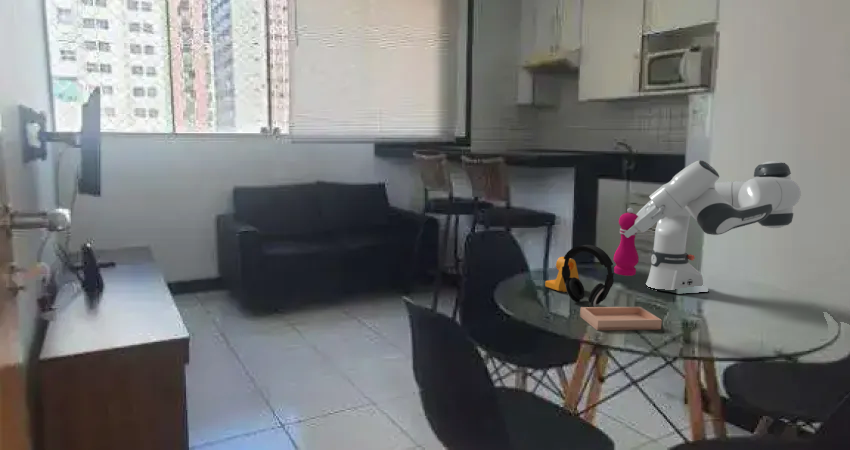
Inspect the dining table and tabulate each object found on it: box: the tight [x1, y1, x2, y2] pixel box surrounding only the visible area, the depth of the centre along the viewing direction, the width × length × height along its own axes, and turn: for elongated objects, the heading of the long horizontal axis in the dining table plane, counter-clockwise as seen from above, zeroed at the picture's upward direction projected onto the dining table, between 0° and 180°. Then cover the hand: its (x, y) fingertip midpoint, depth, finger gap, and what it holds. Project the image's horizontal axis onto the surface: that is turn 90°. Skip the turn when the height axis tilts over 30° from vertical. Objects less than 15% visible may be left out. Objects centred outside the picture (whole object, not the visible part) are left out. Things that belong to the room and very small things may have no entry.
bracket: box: [544, 256, 580, 293], centre depth 218 cm, size 11×7×12 cm, turn 123°
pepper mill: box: [613, 207, 640, 277], centre depth 178 cm, size 7×7×20 cm
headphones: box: [562, 244, 615, 307], centre depth 199 cm, size 18×8×20 cm, turn 45°
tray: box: [579, 306, 663, 331], centre depth 182 cm, size 20×13×3 cm, turn 98°
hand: (625, 233), depth 178 cm, fingers closed on pepper mill, 5 cm apart
